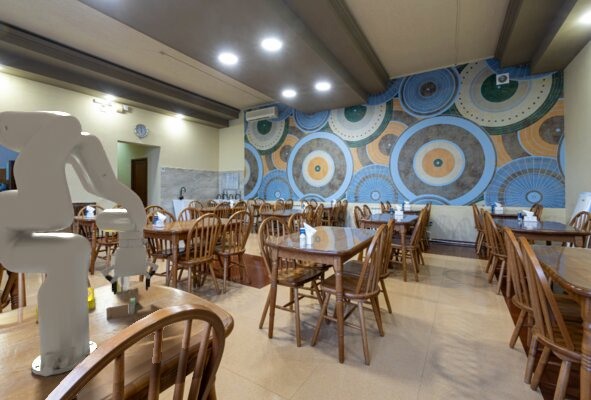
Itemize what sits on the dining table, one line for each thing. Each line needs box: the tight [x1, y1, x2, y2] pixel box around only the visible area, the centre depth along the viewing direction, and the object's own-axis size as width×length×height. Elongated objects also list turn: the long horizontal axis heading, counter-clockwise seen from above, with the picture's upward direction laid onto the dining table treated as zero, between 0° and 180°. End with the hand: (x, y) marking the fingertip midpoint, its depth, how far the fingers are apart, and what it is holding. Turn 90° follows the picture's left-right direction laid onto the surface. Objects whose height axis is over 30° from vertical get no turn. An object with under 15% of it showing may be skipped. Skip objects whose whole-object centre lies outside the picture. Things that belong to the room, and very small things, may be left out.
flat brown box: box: [105, 303, 135, 320], centre depth 96 cm, size 19×19×4 cm
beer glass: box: [110, 252, 131, 294], centre depth 114 cm, size 7×7×15 cm
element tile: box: [35, 286, 96, 323], centre depth 98 cm, size 15×15×5 cm
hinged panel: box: [128, 286, 140, 311], centre depth 98 cm, size 10×3×6 cm, turn 26°
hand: (131, 291), depth 99 cm, fingers open, 9 cm apart
